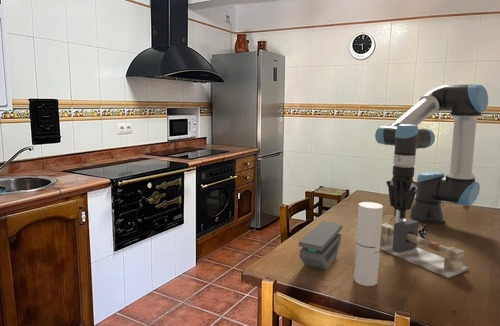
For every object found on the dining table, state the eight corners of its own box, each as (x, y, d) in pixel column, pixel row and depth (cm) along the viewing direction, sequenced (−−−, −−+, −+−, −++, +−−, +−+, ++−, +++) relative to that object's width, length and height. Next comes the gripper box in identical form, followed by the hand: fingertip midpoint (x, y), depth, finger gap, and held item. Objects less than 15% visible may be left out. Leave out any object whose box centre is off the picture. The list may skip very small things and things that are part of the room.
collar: (392, 249, 140) (394, 223, 139) (409, 244, 145) (412, 219, 144) (398, 252, 138) (401, 225, 136) (416, 247, 143) (419, 221, 141)
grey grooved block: (320, 278, 120) (321, 246, 118) (297, 272, 123) (298, 241, 122) (340, 251, 141) (342, 224, 140) (321, 247, 145) (322, 220, 143)
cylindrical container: (350, 275, 122) (355, 202, 118) (371, 275, 122) (377, 201, 118) (358, 286, 115) (364, 208, 111) (381, 285, 115) (387, 208, 111)
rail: (370, 245, 148) (372, 226, 147) (390, 239, 154) (392, 221, 153) (447, 278, 121) (450, 255, 120) (468, 270, 127) (470, 248, 126)
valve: (393, 235, 160) (422, 242, 153) (394, 220, 159) (424, 226, 151) (398, 231, 165) (427, 237, 158) (399, 216, 164) (428, 222, 157)
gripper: (382, 163, 143) (378, 222, 147) (412, 169, 132) (406, 232, 136) (395, 162, 147) (391, 219, 150) (425, 167, 135) (419, 229, 139)
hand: (398, 225), depth 143 cm, fingers closed
